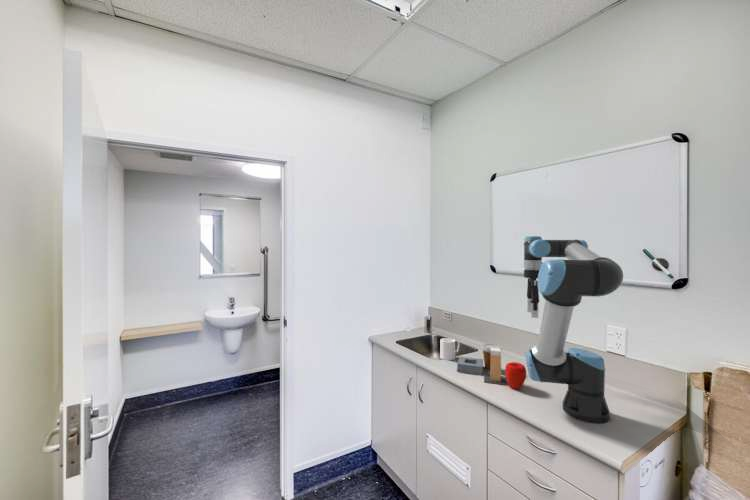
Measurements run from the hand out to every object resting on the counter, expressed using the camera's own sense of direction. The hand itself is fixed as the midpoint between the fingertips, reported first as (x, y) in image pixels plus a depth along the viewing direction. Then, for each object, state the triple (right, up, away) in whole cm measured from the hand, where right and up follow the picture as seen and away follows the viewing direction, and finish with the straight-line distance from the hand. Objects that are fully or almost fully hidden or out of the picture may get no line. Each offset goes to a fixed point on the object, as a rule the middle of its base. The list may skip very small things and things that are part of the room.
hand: (532, 314), depth 152 cm
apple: (-11, -32, -6) cm, 34 cm away
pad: (-16, -31, +2) cm, 35 cm away
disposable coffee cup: (-14, -31, +16) cm, 38 cm away
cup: (-30, -31, +34) cm, 55 cm away
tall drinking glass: (-16, -31, +2) cm, 35 cm away
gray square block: (-24, -31, +16) cm, 43 cm away
